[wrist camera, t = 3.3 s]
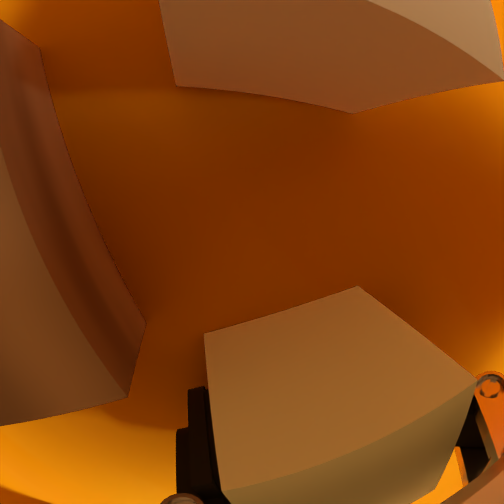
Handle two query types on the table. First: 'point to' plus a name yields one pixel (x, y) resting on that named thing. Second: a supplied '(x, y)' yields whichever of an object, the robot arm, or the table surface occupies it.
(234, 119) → the table surface
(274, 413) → the beige block
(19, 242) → the walnut base
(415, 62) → the grey block
